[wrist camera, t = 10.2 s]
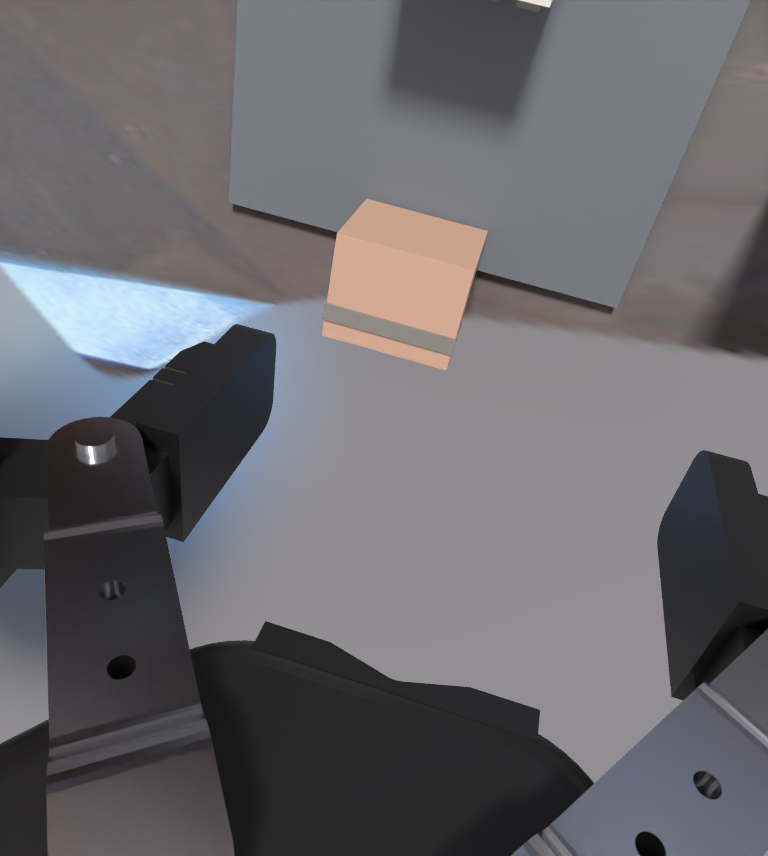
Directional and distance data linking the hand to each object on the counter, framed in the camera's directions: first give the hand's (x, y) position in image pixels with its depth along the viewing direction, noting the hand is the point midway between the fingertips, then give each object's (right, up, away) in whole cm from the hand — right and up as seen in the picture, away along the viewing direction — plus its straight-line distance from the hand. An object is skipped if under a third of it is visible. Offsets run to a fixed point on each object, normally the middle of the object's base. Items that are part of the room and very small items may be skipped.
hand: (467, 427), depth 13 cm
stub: (0, +9, +22) cm, 23 cm away
